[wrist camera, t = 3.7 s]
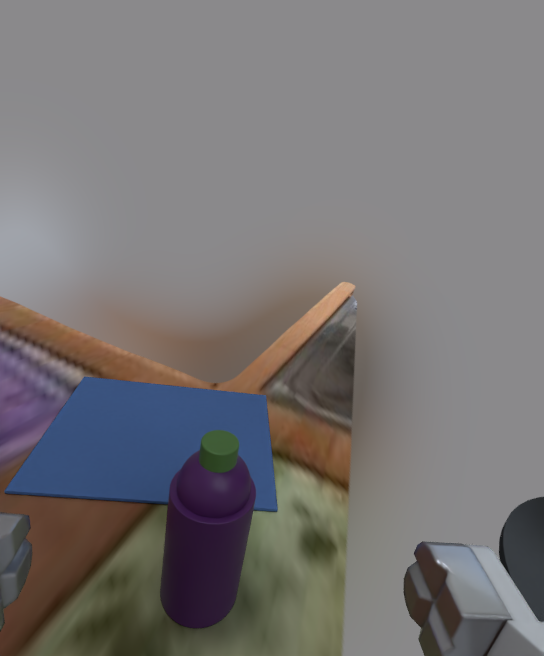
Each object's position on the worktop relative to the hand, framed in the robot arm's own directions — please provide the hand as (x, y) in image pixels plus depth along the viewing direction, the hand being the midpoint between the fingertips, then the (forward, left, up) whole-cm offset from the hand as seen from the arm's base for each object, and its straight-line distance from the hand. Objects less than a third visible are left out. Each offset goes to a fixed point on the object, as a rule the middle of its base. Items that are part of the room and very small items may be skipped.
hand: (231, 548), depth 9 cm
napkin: (+5, -29, -20) cm, 36 cm away
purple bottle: (0, -13, -20) cm, 24 cm away
